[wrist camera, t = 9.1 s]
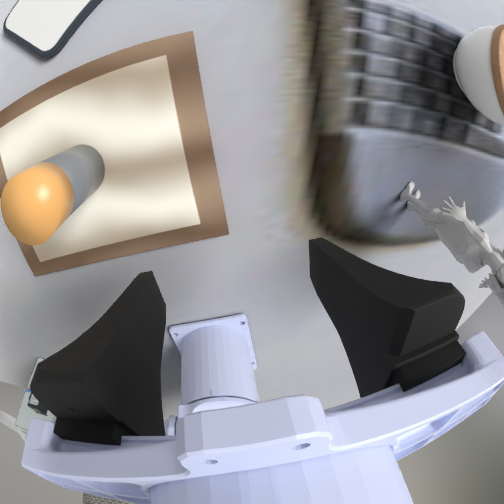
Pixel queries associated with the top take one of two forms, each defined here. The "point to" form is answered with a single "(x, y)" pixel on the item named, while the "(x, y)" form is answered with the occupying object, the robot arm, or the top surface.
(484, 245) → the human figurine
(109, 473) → the robot arm
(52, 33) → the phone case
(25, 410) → the ink box
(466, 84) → the lidded jar
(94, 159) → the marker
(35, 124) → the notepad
